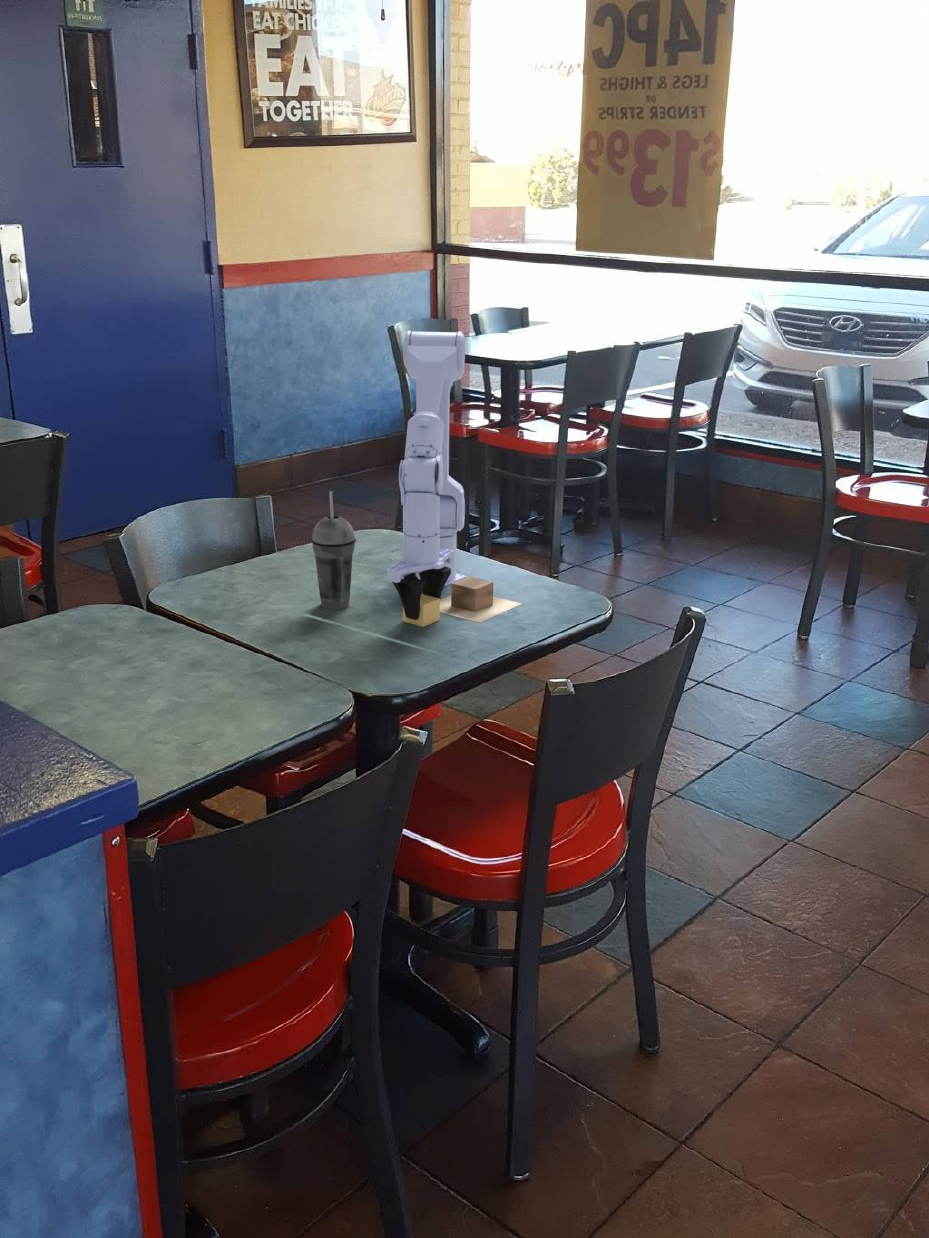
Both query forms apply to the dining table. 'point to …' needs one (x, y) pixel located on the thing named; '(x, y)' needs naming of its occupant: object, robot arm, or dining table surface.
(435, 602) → the ochre block
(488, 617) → the build board
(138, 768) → the dining table surface
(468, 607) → the walnut block
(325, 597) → the beverage cup
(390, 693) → the dining table surface
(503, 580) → the dining table surface
